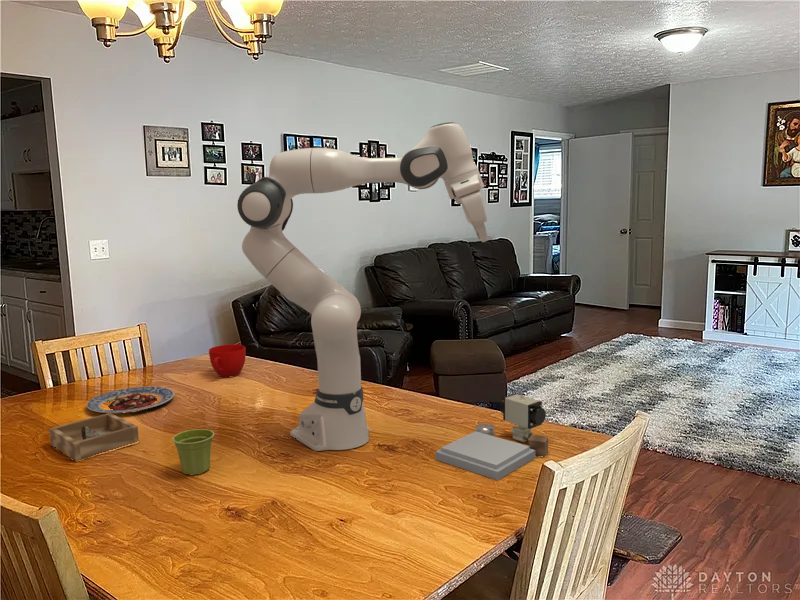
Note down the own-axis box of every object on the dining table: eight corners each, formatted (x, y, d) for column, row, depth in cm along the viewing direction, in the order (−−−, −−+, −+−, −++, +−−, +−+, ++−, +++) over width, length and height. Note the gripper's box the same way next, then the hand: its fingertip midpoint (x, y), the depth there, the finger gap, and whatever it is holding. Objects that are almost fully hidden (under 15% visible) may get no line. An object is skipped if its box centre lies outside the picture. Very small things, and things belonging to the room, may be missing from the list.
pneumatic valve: (534, 448, 161) (534, 402, 159) (499, 435, 170) (499, 392, 168) (548, 442, 164) (548, 397, 162) (513, 430, 173) (513, 387, 171)
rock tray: (51, 445, 171) (49, 428, 170) (111, 429, 182) (109, 412, 181) (76, 462, 159) (74, 444, 158) (139, 443, 171) (137, 426, 170)
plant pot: (173, 466, 155) (171, 432, 154) (214, 459, 159) (211, 426, 158) (177, 482, 147) (173, 445, 146) (219, 474, 151) (216, 438, 149)
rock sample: (124, 428, 169) (95, 410, 166) (106, 453, 165) (75, 435, 162) (117, 434, 177) (89, 417, 175) (100, 458, 173) (70, 441, 170)
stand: (435, 459, 156) (435, 447, 155) (474, 440, 167) (474, 429, 167) (497, 480, 143) (497, 467, 143) (535, 458, 155) (535, 446, 155)
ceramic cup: (199, 382, 226) (197, 355, 225) (220, 369, 243) (218, 344, 241) (233, 383, 224) (232, 355, 223) (252, 370, 241) (251, 344, 239)
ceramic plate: (191, 399, 208) (191, 390, 208) (120, 424, 187) (119, 414, 186) (141, 388, 222) (141, 380, 221) (70, 410, 200) (69, 401, 200)
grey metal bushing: (471, 436, 170) (471, 427, 170) (482, 431, 174) (482, 422, 174) (487, 441, 167) (487, 431, 167) (498, 435, 171) (498, 426, 170)
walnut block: (528, 455, 157) (528, 440, 156) (531, 449, 160) (531, 434, 160) (544, 457, 155) (545, 442, 155) (547, 451, 159) (548, 436, 158)
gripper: (451, 191, 168) (469, 241, 170) (454, 191, 148) (474, 247, 150) (474, 183, 167) (491, 233, 169) (480, 181, 147) (499, 238, 149)
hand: (483, 239), depth 159 cm, fingers open, 8 cm apart
